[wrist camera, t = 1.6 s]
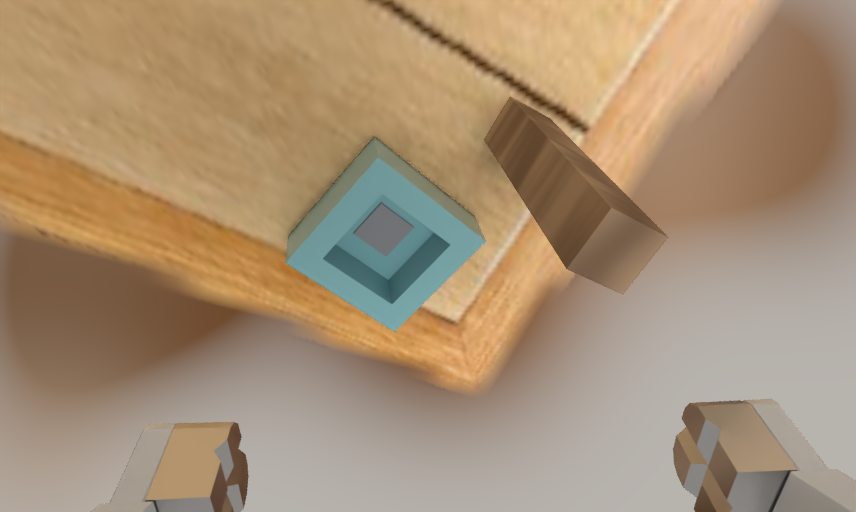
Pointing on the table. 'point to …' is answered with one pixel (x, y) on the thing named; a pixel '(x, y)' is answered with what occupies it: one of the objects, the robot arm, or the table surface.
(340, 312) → the table surface
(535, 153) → the wooden block
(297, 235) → the light blue square container
